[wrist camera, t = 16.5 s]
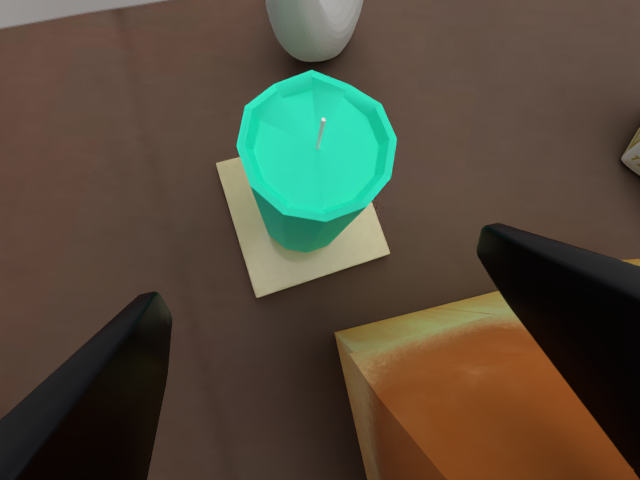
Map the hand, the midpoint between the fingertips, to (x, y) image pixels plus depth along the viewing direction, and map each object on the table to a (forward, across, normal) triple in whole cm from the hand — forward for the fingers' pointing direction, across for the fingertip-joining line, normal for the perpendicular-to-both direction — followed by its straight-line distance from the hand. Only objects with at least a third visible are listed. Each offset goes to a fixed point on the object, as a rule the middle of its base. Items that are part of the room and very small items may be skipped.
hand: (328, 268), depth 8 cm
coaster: (+13, 0, +6) cm, 14 cm away
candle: (+13, 0, +5) cm, 14 cm away
